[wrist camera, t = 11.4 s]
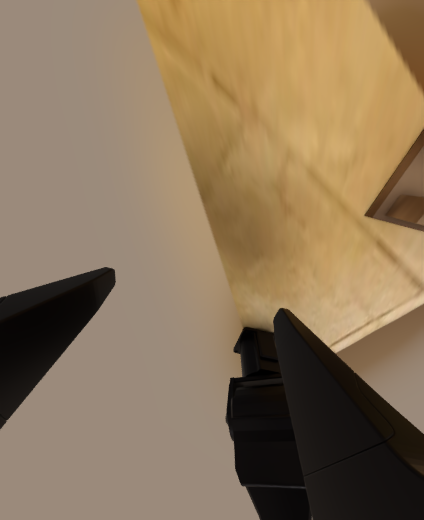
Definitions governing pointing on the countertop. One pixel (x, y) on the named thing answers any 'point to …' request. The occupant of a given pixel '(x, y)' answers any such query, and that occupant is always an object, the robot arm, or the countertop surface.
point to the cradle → (404, 192)
